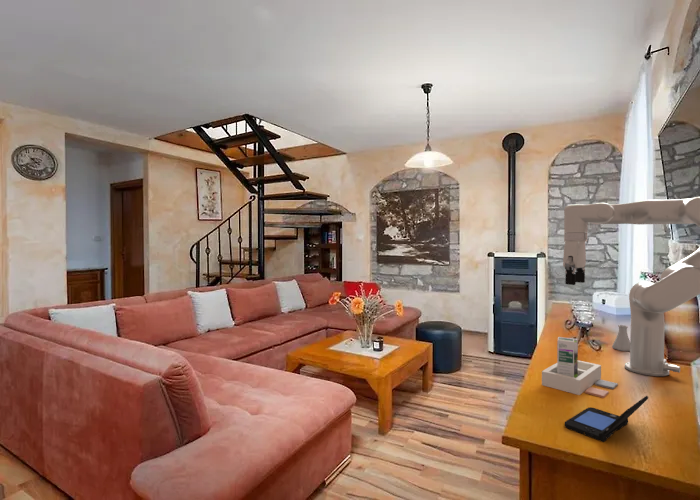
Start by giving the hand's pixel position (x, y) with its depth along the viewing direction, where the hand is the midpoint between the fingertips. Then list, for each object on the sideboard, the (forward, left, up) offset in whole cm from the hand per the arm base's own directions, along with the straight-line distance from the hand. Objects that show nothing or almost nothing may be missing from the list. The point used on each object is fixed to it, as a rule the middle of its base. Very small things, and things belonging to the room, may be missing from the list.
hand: (575, 283), depth 145 cm
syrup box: (-6, +25, -30) cm, 39 cm away
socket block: (-9, +20, -30) cm, 38 cm away
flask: (-7, -35, -31) cm, 47 cm away
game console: (-23, +48, -31) cm, 62 cm away
